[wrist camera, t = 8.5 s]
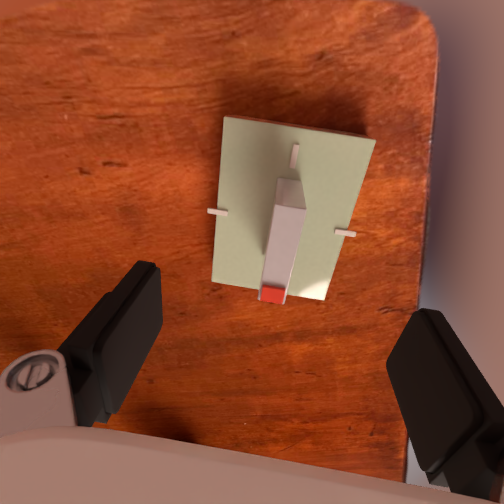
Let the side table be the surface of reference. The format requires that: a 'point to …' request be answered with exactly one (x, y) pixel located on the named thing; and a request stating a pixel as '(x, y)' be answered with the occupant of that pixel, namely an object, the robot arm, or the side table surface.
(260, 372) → the side table surface
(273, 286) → the tap handle
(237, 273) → the panel
